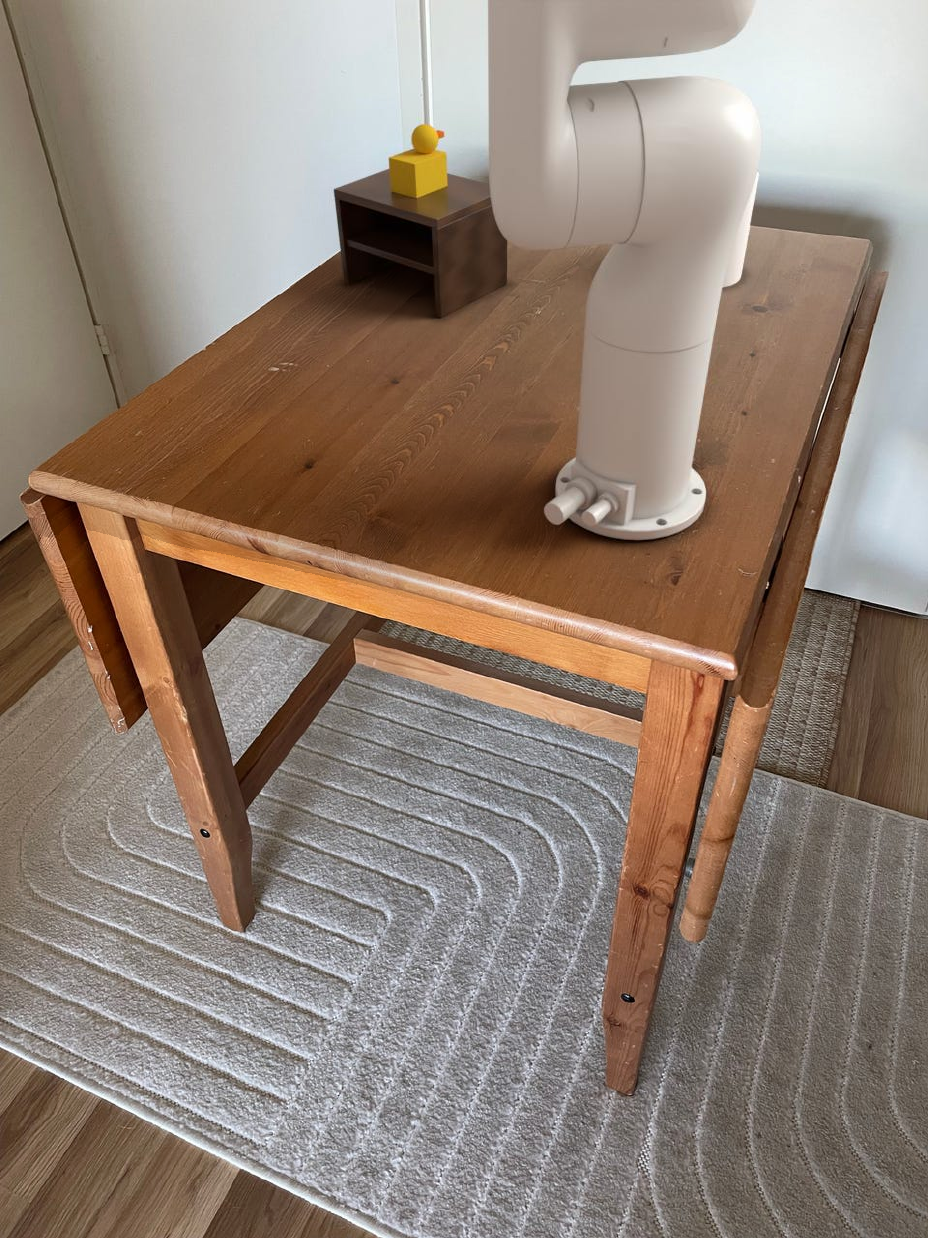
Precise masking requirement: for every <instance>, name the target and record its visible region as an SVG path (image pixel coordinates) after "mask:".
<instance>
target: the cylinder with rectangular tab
mask: <svg viewBox="0 0 928 1238" xmlns="http://www.w3.org/2000/svg"><path fill="white" fill-rule="evenodd" d="M759 177H760V172H757V175H756V179H755V182H754V185H753V189H752V192H751V195H750V197H749V200H748V203H747V205H746V208H745V211H744V214H743V216H742V219H741V222H740V225H739V228H738V231H737V234H736V237H735V240H734V243H733V246H732V250H731V253H730V257H729V261H728V265H727V269H726V273H725V278H724V282H723V287H722V289H723V288H728V287H731V286H733V285H735V284H737V283H738V282H739V281H740V280H741V278H742V274H743V269H744V264H745V258H746V252H747V247H748V242H749V235H750V229H751V222H752V217H753V210H754V206H755V205H754V204H755V200H756V194H757V188H758V183H759Z"/></svg>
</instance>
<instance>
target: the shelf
mask: <svg viewBox="0 0 928 1238" xmlns="http://www.w3.org/2000/svg"><path fill="white" fill-rule="evenodd" d="M333 196H334V205H335V213H336V223H337V231H338V240H339V248H340V249H339V250H340V258H341V266H342V267H341V268H342V275H343V282H344V284H347V285H350V284H352V283H355V282H357V281H359V280H361V279H364V278H366V277H368V276H371V275H372V274H373V275H374V273H377V272H379V271H381V270H384V269H385V268H386V269H387V268H388V267H390V266H393V265H395V264H396V263H397V264H401V265H404V266H406V267H410V268H413V269H416V270H418V271H420V272H421V271H422V272H425V273H428V274H431V275H433V278H434V279H433V280H434V282H433V283H434V300H435V301H434V302H435V317H437V318H439V319H443V318H444V317H446V316H448V315H450V314H452V313H453V312H456V311H458V310H461V309H462V308H463V307H465V306H467V305H469V304H471V303H473V302H475V301H477V300H479V299H480V298H483V297H484V296H487V295H488V294H490V293H492V292H494V291H496V290H498V289H500V288H502V287H504V286H506V285H507V284H508V241H507V240H506V239H505V238H504V237H503V235H502V234H501V232H500V230H499V228H498V226H497V223H496V221H495V217H494V214H493V208H492V202H491V195H490V183H486V182H481V181H478V180H475V179H471V178H467V177H463V176H459V175H455V174H452V173H448V172H447V186H446V187H444V188H441V189H439V190H437V191H434V192H432V193H429V194H427V195H424V196H422V197H419V198H417V199H416V198H413V197H409V196H406V195H402V194H399V193H395V192H392V191H391V184H390V170H389V168H386V169H383V170H381V171H379V172H376V173H374V174H370V175H368V176H365V177H363V178H359V179H357V180H354V181H351V182H349V183H346V184H344V185H341V186H339V187H338V186H337V187H335V188H333Z"/></svg>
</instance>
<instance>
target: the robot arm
mask: <svg viewBox="0 0 928 1238" xmlns="http://www.w3.org/2000/svg"><path fill="white" fill-rule="evenodd" d="M756 1H757V0H487V61H488V62H487V63H488V65H487V66H488V67H487V68H488V71H487V72H488V73H487V74H488V75H487V76H488V79H487V81H488V82H487V83H488V85H487V86H488V89H487V90H488V93H487V94H488V98H487V99H488V178H489V179H488V181H489V184H490V195H491V202H492V208H493V214H494V217H495V221H496V223H497V226H498V228H499V230H500V232H501V234H502V235H503V237H504V238H505V239H506V240H507V243H509V244H511V245H513V246H515V247H517V248H519V249H523V250H528V251H550V250H551V251H552V250H553V251H554V250H566V249H578V248H588V247H589V248H590V247H596V246H597V247H598V246H606V245H607V246H609V245H612V246H611V248H609V251H608V252H607V253H606V255H605V257H604V258H603V260H602V261H601V262H600V265H599V267H598V269H597V270H596V272H595V275H594V276H593V279H592V281H591V284H590V287H589V289H588V294H587V297H586V298H587V299H586V305H585V317H584V332H583V344H582V345H583V346H582V360H581V361H582V362H581V376H580V391H579V406H578V421H577V435H576V451H575V457H573V458H572V459H571V460H569V461H568V462H566V463H565V464H564V466H563V467H561V469H560V470H559V472H558V474H557V477H556V481H555V489H554V491H555V492H554V493H555V497H554V498H552V499H551V500H550V501H549V502H547V503H546V504H545V506H544V507H543V513H544V516H545V517H546V519H547V520H548V522H549V523H551V524H552V525H554V526H555V525H556V526H560V525H561V524H562V523H564V522H565V521H566V520H568V519H569V520H570V521H571V522H573V523H575V525H578V526H580V527H581V528H583V529H585V530H587V531H589V532H593V533H595V534H596V535H600V536H604V537H607V538H613V539H620V540H626V541H627V540H628V541H629V540H630V541H644V540H655V539H659V538H664V537H669V536H671V535H674V534H677V533H680V532H682V531H684V530H685V529H687V528H689V527H690V526H692V525H693V524H694V523H695V522H697V520H698V519H699V517H700V516H701V515H702V514H703V511H704V507H705V503H706V499H707V497H706V496H707V489H706V485H705V482H704V480H703V479H702V477H701V475H700V474H699V473H698V472H697V471H696V470H695V469H694V468H693V462H694V461H693V460H694V455H695V449H696V443H697V437H698V431H699V426H700V421H701V420H700V419H701V414H702V409H703V402H704V395H705V390H706V384H707V380H708V379H707V378H708V372H709V366H710V360H711V355H712V348H713V342H714V336H715V330H716V325H717V320H718V315H719V314H718V313H719V308H720V304H721V303H720V301H721V297H722V293H723V288H724V287H723V282H724V278H725V273H726V269H727V265H728V261H729V257H730V253H731V250H732V246H733V243H734V240H735V237H736V234H737V231H738V228H739V225H740V222H741V219H742V216H743V214H744V211H745V208H746V205H747V203H748V200H749V197H750V195H751V192H752V189H753V185H754V182H755V179H756V175H757V173H758V170H759V166H760V161H761V155H762V131H761V130H762V129H761V121H760V119H759V116H758V112H757V109H756V107H755V106H754V104H753V103H752V101H751V99H750V98H749V97H748V95H747V94H746V93H745V92H743V91H742V90H741V89H740V88H738V87H737V86H735V85H734V84H732V83H730V82H726V81H725V80H722V79H719V78H713V77H708V76H698V75H696V76H695V75H679V76H665V77H653V78H640V79H639V78H638V79H627V80H625V79H624V80H618V81H612V82H610V81H609V82H600V83H598V82H596V83H585V84H572V85H571V83H572V81H573V78H574V76H575V73H576V71H577V70H578V68H579V67H580V66H581V65H582V64H585V63H589V62H598V61H612V60H626V59H627V60H628V59H641V58H653V57H654V58H655V57H666V56H677V55H686V54H692V53H699V52H703V51H709V50H713V49H716V48H718V47H721V46H724V45H726V44H727V43H729V42H731V41H732V40H733V39H736V37H737V36H738V35H739V34H740V33H741V32H742V31H743V30H744V28H746V25H747V24H748V22H749V19H750V18H751V16H752V13H753V11H754V7H755V4H756ZM722 287H723V288H722Z"/></svg>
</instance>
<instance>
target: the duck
mask: <svg viewBox="0 0 928 1238" xmlns="http://www.w3.org/2000/svg"><path fill="white" fill-rule="evenodd" d="M410 137H411V138H410V139H411V145H412V147H413V148H410V149H408V150H405V151H403V152H400V153H396V154H394V155H392V156H389V157H388V169H389V170H390V184H391V191H392V192H395V193H399V194H402V195H406V196H409V197H413V198H416V199H417V198H419V197H422V196H424V195H427V194H429V193H432V192H434V191H437V190H439V189H441V188H444V187H446V186H447V173H448V163H447V161H448V160H447V157H448V156H447V152H446V151H442V150H438V149H437V147H438V145H439V140H440V139H442V138H445V132H444V130H439V129H437V130H436V129H435V128H434V127H433V126H432V125H430V124H428V123H422V124H419V125H418V126H416V127H415V128H414V129H413V131H412V133H411V136H410Z"/></svg>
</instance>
